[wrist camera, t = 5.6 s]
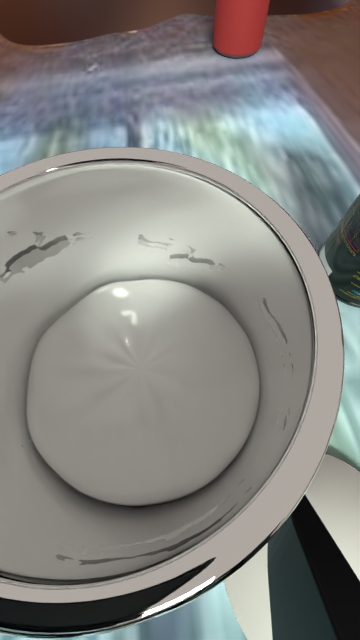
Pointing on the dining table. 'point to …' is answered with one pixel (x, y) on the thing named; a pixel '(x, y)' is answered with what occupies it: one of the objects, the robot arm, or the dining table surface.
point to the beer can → (239, 26)
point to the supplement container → (344, 256)
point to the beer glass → (151, 384)
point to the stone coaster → (340, 520)
